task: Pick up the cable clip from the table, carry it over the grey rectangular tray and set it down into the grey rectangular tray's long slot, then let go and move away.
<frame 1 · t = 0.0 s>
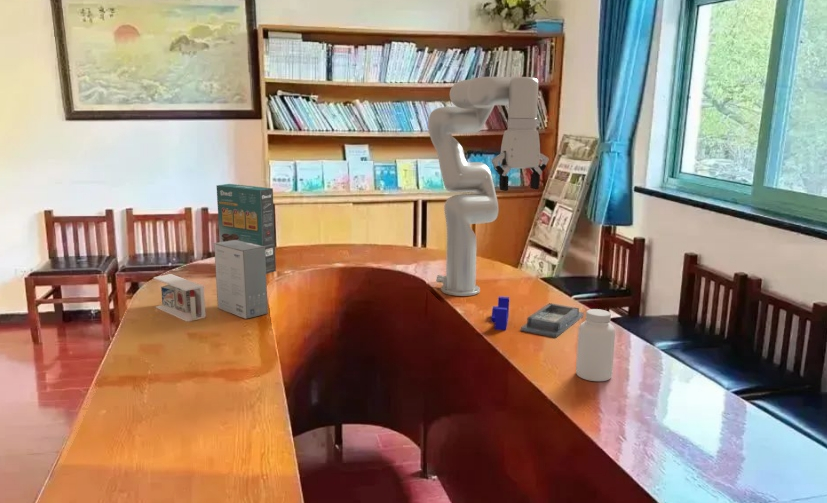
hand: (519, 189, 182), 37 cm above the table, tool pointing down, fingers open, 9 cm apart
cigarette display: (181, 313, 195), on the table
cake mix box: (248, 269, 246), on the table
grey rectangular tray: (553, 323, 188), on the table
pill bottle: (593, 376, 153), on the table
hard drive box: (242, 311, 197), on the table
cable clip: (499, 323, 188), on the table
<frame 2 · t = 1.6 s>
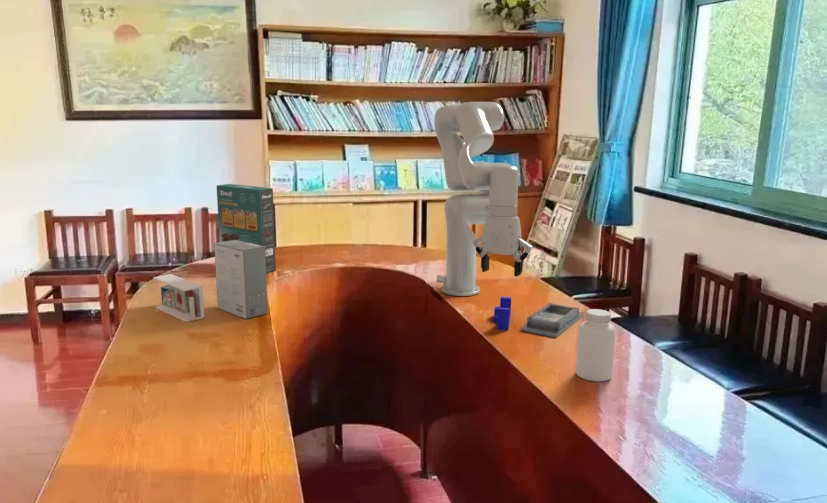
hand: (501, 273, 185), 14 cm above the table, tool pointing down, fingers open, 9 cm apart
nothing on the table moved.
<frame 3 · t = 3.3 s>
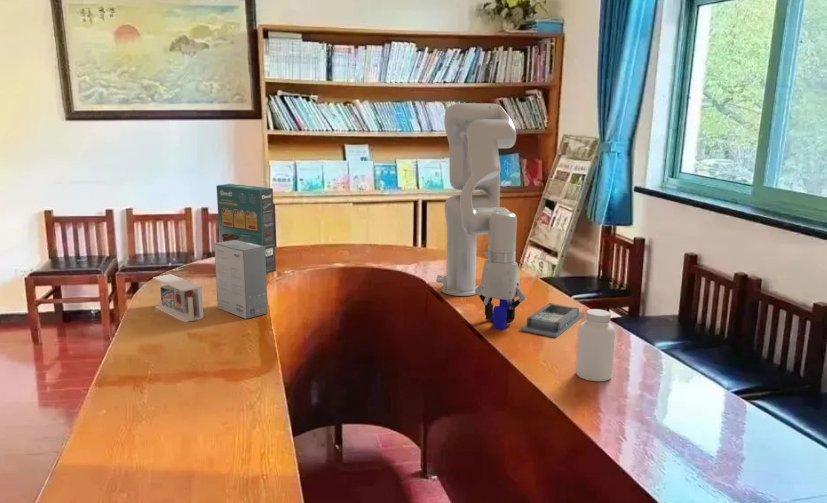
hand: (499, 319, 188), 1 cm above the table, tool pointing down, fingers closed on cable clip, 5 cm apart
cable clip: (499, 323, 188), on the table, touching gripper
everything else where it was.
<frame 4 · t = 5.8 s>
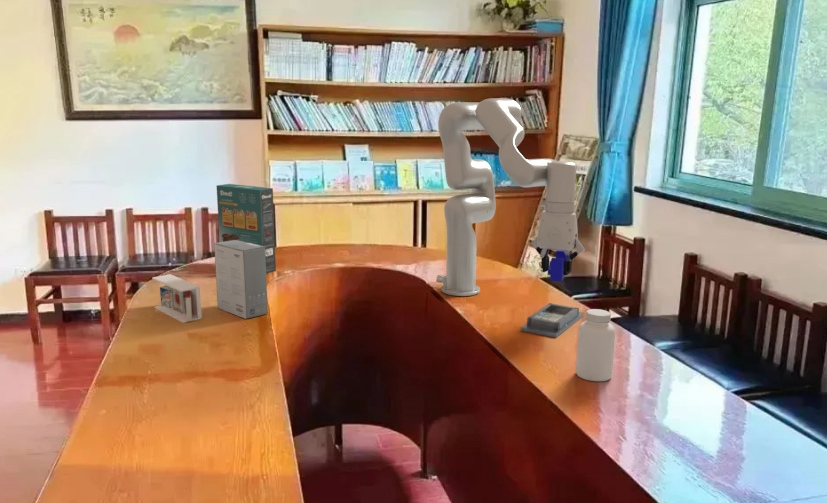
hand: (555, 272, 185), 15 cm above the table, tool pointing down, fingers closed on cable clip, 5 cm apart
cable clip: (555, 276, 186), point 13 cm above the table, touching gripper
everything else where it was.
when the fingers open (4 cm above the table, at t = 8.5 s): cable clip stays where it is, resting on grey rectangular tray.
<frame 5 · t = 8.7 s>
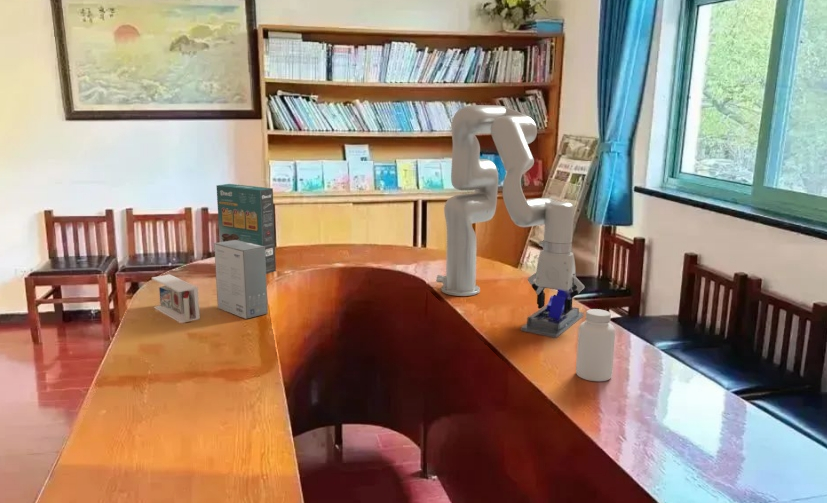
hand: (554, 309, 187), 4 cm above the table, tool pointing down, fingers open, 7 cm apart
cable clip: (553, 312, 188), point 3 cm above the table, touching gripper, grey rectangular tray
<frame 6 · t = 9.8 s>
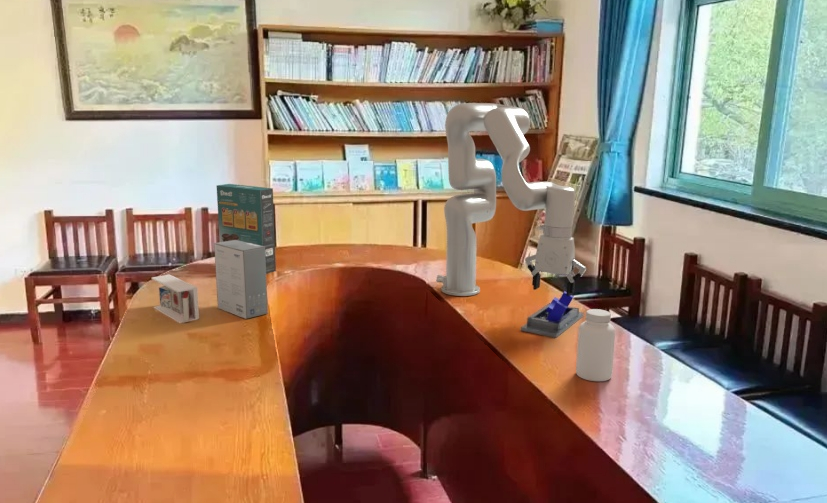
hand: (552, 291, 187), 9 cm above the table, tool pointing down, fingers open, 9 cm apart
cable clip: (552, 315, 188), point 2 cm above the table, touching grey rectangular tray
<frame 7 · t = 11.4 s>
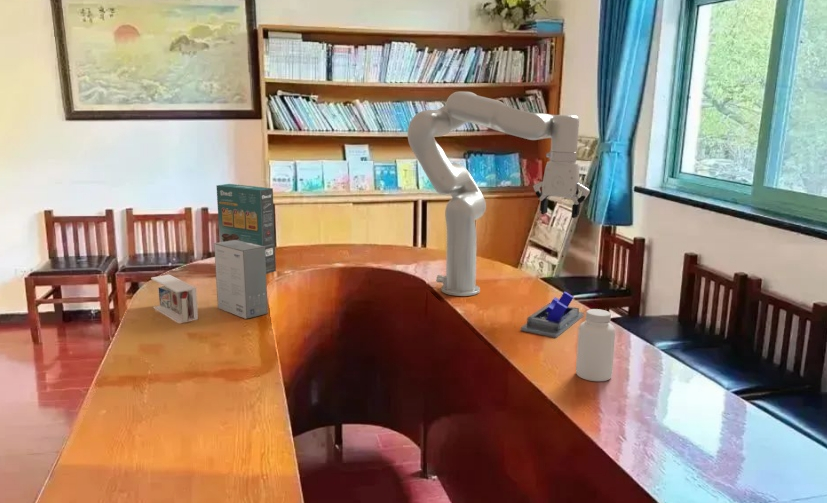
hand: (559, 215, 201), 27 cm above the table, tool pointing down, fingers open, 9 cm apart
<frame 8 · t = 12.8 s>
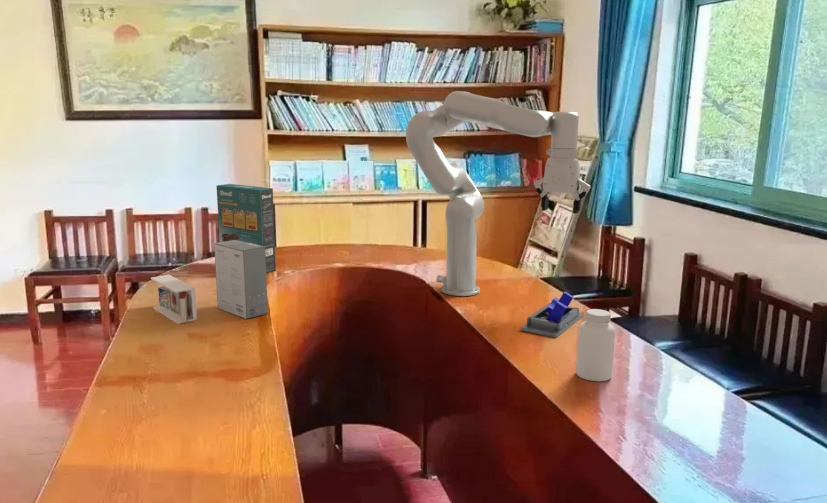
hand: (560, 211, 202), 28 cm above the table, tool pointing down, fingers open, 9 cm apart
at the end: cable clip inside the target area on the grey rectangular tray (0.7 cm from its centre), point 1.9 cm above the grey rectangular tray's base; the gripper is holding nothing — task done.
